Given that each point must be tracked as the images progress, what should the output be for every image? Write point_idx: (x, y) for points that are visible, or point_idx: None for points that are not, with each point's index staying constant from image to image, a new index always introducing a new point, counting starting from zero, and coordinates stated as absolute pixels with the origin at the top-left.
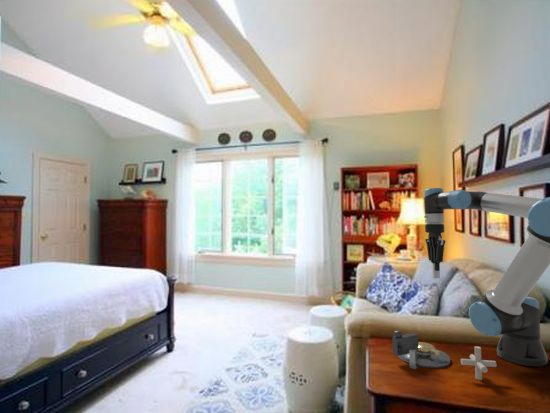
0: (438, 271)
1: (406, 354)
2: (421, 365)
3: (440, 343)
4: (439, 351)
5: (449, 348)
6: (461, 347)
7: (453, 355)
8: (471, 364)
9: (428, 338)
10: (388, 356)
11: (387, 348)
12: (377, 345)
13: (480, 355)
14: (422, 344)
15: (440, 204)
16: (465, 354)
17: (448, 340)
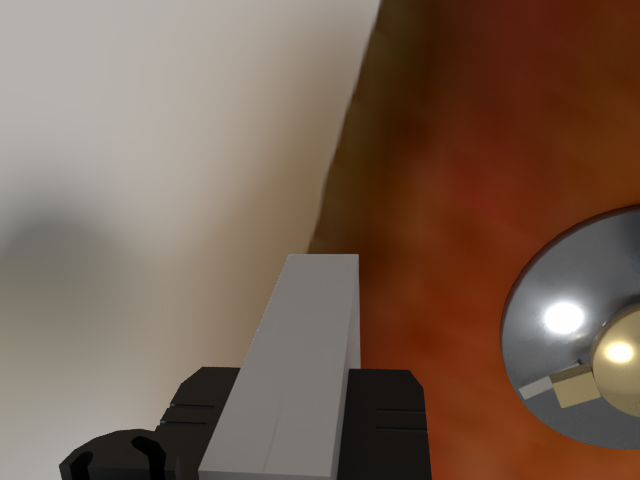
0: (352, 351)
1: (627, 416)
2: None
3: (431, 132)
4: (617, 233)
5: (522, 117)
6: (514, 25)
7: (635, 151)
8: None
9: (336, 167)
10: (589, 474)
11: (484, 444)
12: (438, 474)
13: None
14: (638, 356)
15: None
16: (633, 66)
17: (377, 48)
